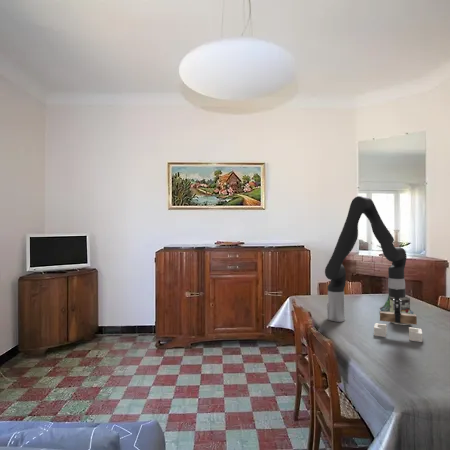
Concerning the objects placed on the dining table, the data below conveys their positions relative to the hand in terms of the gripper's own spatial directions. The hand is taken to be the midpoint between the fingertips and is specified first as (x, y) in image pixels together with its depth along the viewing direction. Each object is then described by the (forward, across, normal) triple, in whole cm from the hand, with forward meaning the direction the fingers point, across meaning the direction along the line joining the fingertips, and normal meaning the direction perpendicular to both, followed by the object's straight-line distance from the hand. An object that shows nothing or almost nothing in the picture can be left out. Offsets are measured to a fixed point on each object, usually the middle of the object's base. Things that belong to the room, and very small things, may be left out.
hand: (397, 321), depth 159 cm
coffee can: (+8, -25, +1) cm, 26 cm away
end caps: (+8, 0, 0) cm, 8 cm away
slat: (0, 0, 0) cm, 0 cm away
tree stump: (+8, -44, -2) cm, 45 cm away
